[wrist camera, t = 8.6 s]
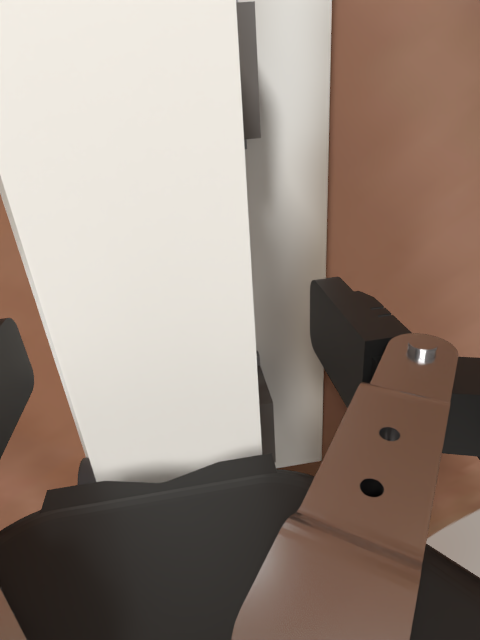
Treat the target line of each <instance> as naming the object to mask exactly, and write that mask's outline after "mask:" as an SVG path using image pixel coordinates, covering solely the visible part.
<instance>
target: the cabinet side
mask: <svg viewBox="0 0 480 640" xmlns="http://www.w3.org/2000/svg"><path fill="white" fill-rule="evenodd" d="M236 9H237V26H238V43H239V61H240V78H241V95H242V113H243V130H244V147H245V165H246V182H247V199H248V217H249V234H250V251H251V269H252V286H253V303H254V321H255V338H256V355H257V373H258V390H259V407H260V425H261V442H262V455H263V454H269V453H272V456H273V459H274V463H275V466H276V468H282V467H287V466H293V465H299V464H305V463H311V462H317V461H322V421H323V376H324V367H323V365H322V364H321V362H320V360H319V359H318V357H317V355H316V354H315V352H314V350H313V347H312V343H311V338H310V285H311V282H312V280H317V279H324V278H326V241H327V196H328V151H329V106H330V61H331V16H332V0H236ZM0 194H1V197H2V200H3V203H4V206H5V209H6V212H7V215H8V218H9V221H10V224H11V228H12V231H13V234H14V237H15V240H16V243H17V246H18V249H19V252H20V255H21V258H22V261H23V264H24V267H25V271H26V274H27V277H28V280H29V283H30V286H31V289H32V292H33V295H34V298H35V301H36V304H37V307H38V310H39V314H40V317H41V320H42V323H43V326H44V329H45V332H46V335H47V338H48V341H49V344H50V347H51V350H52V354H53V357H54V360H55V363H56V366H57V369H58V372H59V375H60V378H61V381H62V384H63V387H64V390H65V393H66V397H67V400H68V403H69V406H70V409H71V412H72V415H73V418H74V421H75V424H76V427H77V430H78V433H79V436H80V440H81V443H82V446H83V449H84V452H85V455H86V458H88V453H87V450H86V447H85V444H84V441H83V437H82V434H81V431H80V428H79V425H78V422H77V418H76V415H75V412H74V409H73V406H72V402H71V399H70V396H69V393H68V390H67V386H66V383H65V380H64V377H63V374H62V371H61V367H60V364H59V361H58V358H57V355H56V351H55V348H54V345H53V342H52V339H51V335H50V332H49V329H48V326H47V323H46V319H45V316H44V313H43V310H42V307H41V304H40V300H39V297H38V294H37V291H36V288H35V284H34V281H33V278H32V275H31V272H30V268H29V265H28V262H27V259H26V256H25V252H24V249H23V246H22V243H21V240H20V237H19V233H18V230H17V227H16V224H15V221H14V217H13V214H12V211H11V208H10V205H9V201H8V198H7V195H6V192H5V189H4V185H3V182H2V179H1V176H0Z"/></svg>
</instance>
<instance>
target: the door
mask: <svg viewBox="0 0 480 640" xmlns="http://www.w3.org/2000/svg"><path fill="white" fill-rule="evenodd" d="M0 176H1V179H2V182H3V185H4V189H5V192H6V195H7V198H8V201H9V205H10V208H11V211H12V214H13V217H14V221H15V224H16V227H17V230H18V233H19V237H20V240H21V243H22V246H23V249H24V252H25V256H26V259H27V262H28V265H29V268H30V272H31V275H32V278H33V281H34V284H35V288H36V291H37V294H38V297H39V300H40V304H41V307H42V310H43V313H44V316H45V319H46V323H47V326H48V329H49V332H50V335H51V339H52V342H53V345H54V348H55V351H56V355H57V358H58V361H59V364H60V367H61V371H62V374H63V377H64V380H65V383H66V386H67V390H68V393H69V396H70V399H71V402H72V406H73V409H74V412H75V415H76V418H77V422H78V425H79V428H80V431H81V434H82V437H83V441H84V444H85V447H86V450H87V453H88V458H83V459H82V461H81V463H80V467H79V472H78V485H82V484H88V483H94V482H100V481H122V482H147V483H162V482H166V481H169V480H172V479H175V478H177V477H180V476H182V475H185V474H188V473H190V472H193V471H196V470H198V469H201V468H204V467H206V466H209V465H212V464H214V463H217V462H221V461H227V460H233V459H239V458H245V457H251V456H257V455H262V442H261V425H260V407H259V390H258V373H257V355H256V338H255V321H254V303H253V286H252V269H251V251H250V234H249V217H248V199H247V182H246V165H245V147H244V130H243V113H242V95H241V78H240V61H239V43H238V26H237V9H236V0H0Z"/></svg>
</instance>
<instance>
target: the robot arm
mask: <svg viewBox="0 0 480 640" xmlns="http://www.w3.org/2000/svg"><path fill="white" fill-rule="evenodd" d="M310 338H311V343H312V347H313V350H314V352H315V354H316V355H317V357H318V359H319V360H320V362H321V364H322V365H323V367H324V369H325V371H326V372H327V374H328V376H329V377H330V379H331V381H332V382H333V384H334V386H335V388H336V389H337V391H338V393H339V394H340V396H341V398H342V400H343V401H344V403H345V405H346V406H347V408H348V409H347V411H346V413H345V415H344V417H343V419H342V421H341V423H340V425H339V428H338V430H337V432H336V434H335V436H334V438H333V440H332V442H331V444H330V446H329V448H328V450H327V452H326V454H325V457H324V459H323V461H322V463H321V465H320V467H319V469H318V471H317V473H316V475H315V477H314V476H311V475H308V474H304V473H300V472H296V471H289V470H278V469H276V466H275V463H274V459H273V456H272V453H269V454H263V455H257V456H251V457H245V458H239V459H233V460H227V461H221V462H217V463H214V464H212V465H209V466H206V467H204V468H201V469H198V470H196V471H193V472H190V473H188V474H185V475H182V476H180V477H177V478H175V479H172V480H169V481H166V482H162V483H147V482H122V481H100V482H94V483H88V484H82V485H76V486H70V487H64V488H58V489H52V490H47V493H46V496H45V499H44V503H43V506H42V509H41V510H40V511H37V512H35V513H32V514H30V515H28V516H26V517H24V518H22V519H20V520H18V521H16V522H14V523H13V524H11V525H9V526H7V527H6V528H4V529H3V530H1V531H0V640H480V578H479V577H478V576H476V575H474V574H473V573H471V572H470V571H468V570H467V569H465V568H463V567H462V566H460V565H459V564H457V563H456V562H454V561H452V560H451V559H449V558H448V557H446V556H445V555H443V554H442V553H440V552H438V551H437V550H435V549H434V548H432V547H431V546H429V545H428V544H426V540H427V534H428V529H429V523H430V517H431V511H432V506H433V500H434V494H435V489H436V483H437V477H438V472H439V466H440V460H441V455H442V453H446V454H457V455H469V456H477V457H478V458H479V460H480V358H470V357H458V351H457V349H456V348H455V347H454V346H453V345H452V344H451V343H449V342H448V341H446V340H444V339H441V338H439V337H436V336H432V335H427V334H419V333H411V332H410V331H409V330H408V329H407V328H406V327H405V326H404V325H403V324H402V323H401V322H400V321H399V320H398V319H397V318H395V317H394V316H393V315H391V313H390V312H389V311H388V310H387V309H386V308H384V306H383V305H382V304H381V303H380V302H379V301H377V300H376V299H375V298H374V297H372V296H370V295H367V294H365V293H363V292H360V291H355V292H354V291H353V290H352V289H351V288H350V287H349V286H348V285H347V284H346V283H345V282H344V281H343V280H342V279H341V278H340V277H332V278H324V279H317V280H312V282H311V285H310ZM33 386H34V375H33V370H32V367H31V364H30V361H29V358H28V355H27V353H26V350H25V347H24V344H23V341H22V339H21V336H20V333H19V330H18V328H17V325H16V323H15V322H14V321H13V320H12V319H11V318H4V319H0V458H1V456H2V454H3V452H4V450H5V448H6V446H7V444H8V441H9V439H10V437H11V435H12V433H13V431H14V429H15V427H16V425H17V422H18V420H19V418H20V416H21V414H22V412H23V410H24V408H25V406H26V403H27V401H28V399H29V397H30V395H31V393H32V390H33Z"/></svg>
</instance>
